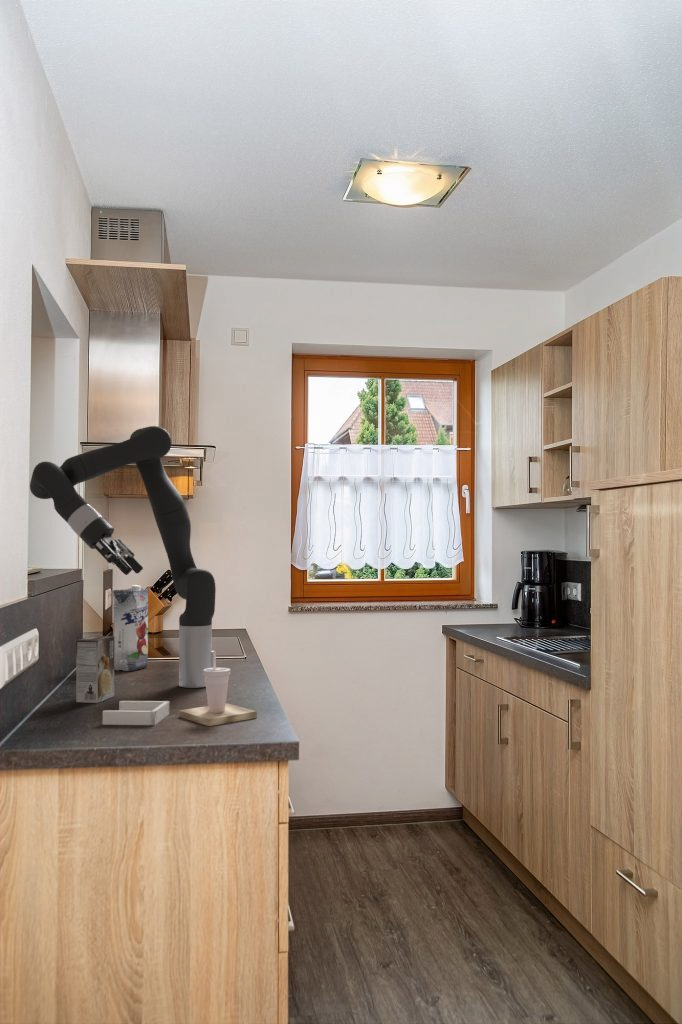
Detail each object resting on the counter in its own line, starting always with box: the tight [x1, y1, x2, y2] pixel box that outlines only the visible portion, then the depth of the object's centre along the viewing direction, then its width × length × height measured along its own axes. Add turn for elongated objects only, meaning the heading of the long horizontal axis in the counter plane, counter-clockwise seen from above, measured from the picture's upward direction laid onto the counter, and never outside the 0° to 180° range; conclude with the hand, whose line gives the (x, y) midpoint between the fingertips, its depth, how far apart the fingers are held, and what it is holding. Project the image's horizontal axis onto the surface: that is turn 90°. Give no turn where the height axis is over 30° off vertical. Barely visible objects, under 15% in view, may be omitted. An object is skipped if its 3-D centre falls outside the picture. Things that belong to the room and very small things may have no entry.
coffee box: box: [75, 635, 115, 704], centre depth 215 cm, size 9×6×16 cm
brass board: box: [178, 702, 258, 727], centre depth 193 cm, size 13×13×2 cm
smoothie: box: [203, 650, 231, 713], centre depth 193 cm, size 6×6×14 cm
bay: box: [102, 700, 171, 726], centre depth 191 cm, size 12×12×3 cm
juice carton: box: [112, 584, 149, 672], centre depth 265 cm, size 9×10×27 cm
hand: (135, 571), depth 206 cm, fingers open, 8 cm apart
